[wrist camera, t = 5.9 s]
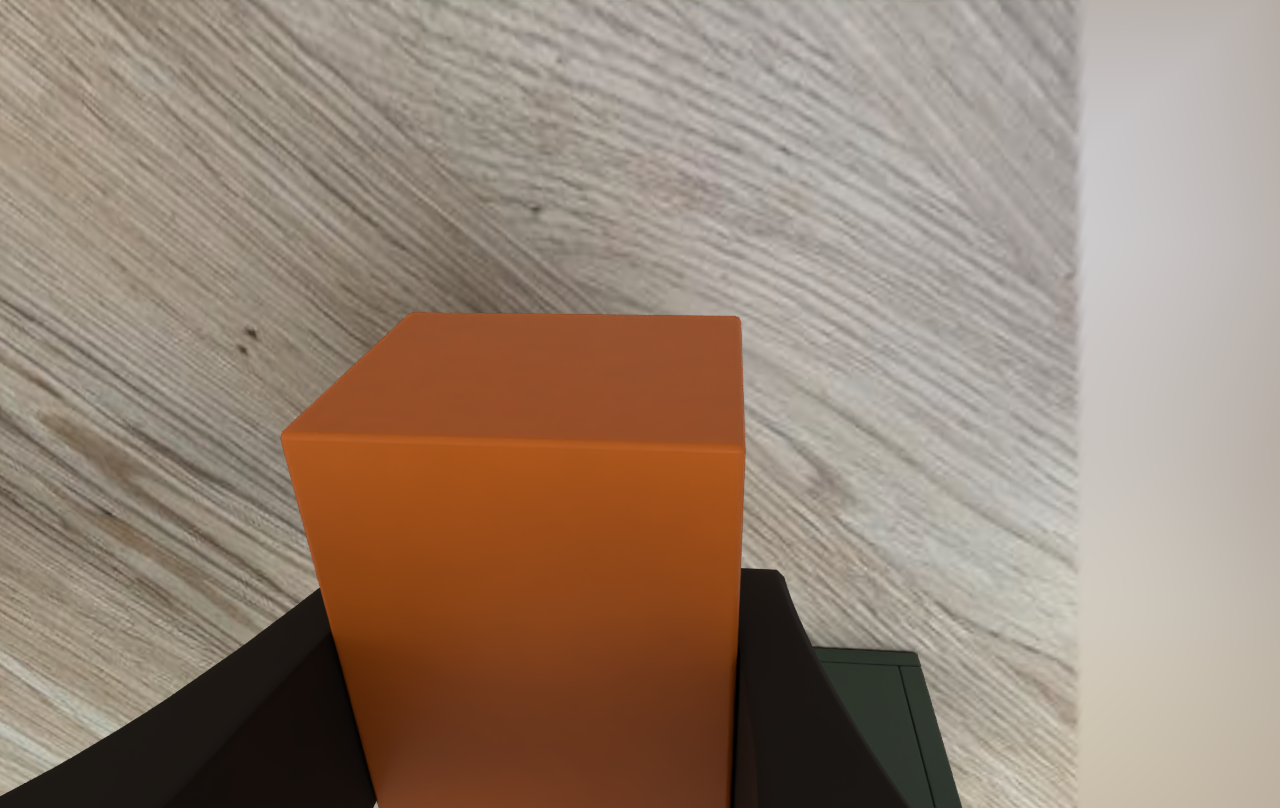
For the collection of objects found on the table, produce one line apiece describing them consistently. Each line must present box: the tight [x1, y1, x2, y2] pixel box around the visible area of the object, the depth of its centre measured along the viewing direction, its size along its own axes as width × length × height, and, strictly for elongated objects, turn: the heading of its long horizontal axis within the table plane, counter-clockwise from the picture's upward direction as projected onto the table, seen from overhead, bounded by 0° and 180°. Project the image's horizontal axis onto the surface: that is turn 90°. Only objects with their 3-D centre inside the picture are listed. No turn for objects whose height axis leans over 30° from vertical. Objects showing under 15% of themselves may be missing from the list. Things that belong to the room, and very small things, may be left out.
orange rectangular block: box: [281, 312, 746, 808], centre depth 11 cm, size 4×8×4 cm, turn 1°
